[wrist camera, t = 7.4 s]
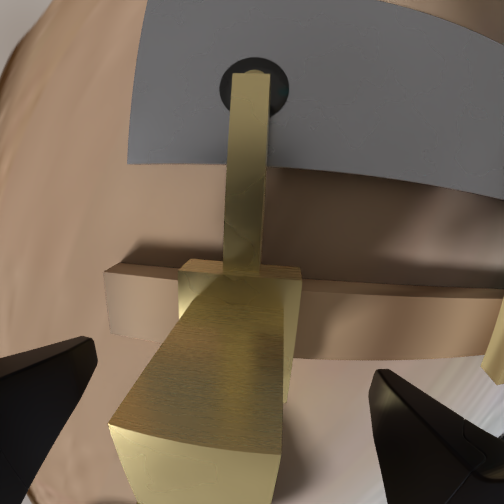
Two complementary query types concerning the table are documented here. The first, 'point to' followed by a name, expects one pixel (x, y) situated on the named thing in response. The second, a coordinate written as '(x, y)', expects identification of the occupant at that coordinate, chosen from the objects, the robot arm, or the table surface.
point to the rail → (337, 317)
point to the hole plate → (324, 89)
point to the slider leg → (220, 350)
